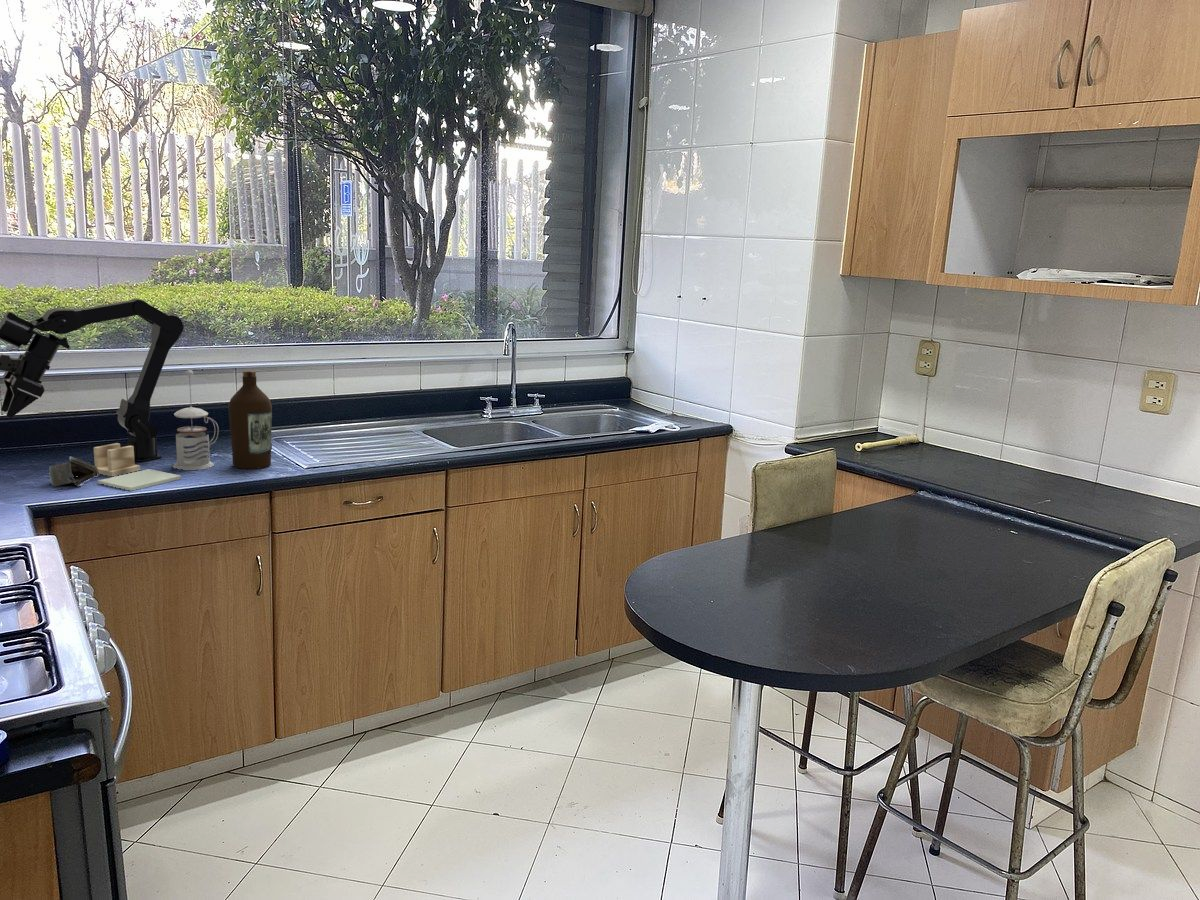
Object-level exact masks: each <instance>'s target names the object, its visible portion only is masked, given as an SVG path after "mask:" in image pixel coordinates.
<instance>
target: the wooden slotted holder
mask: <svg viewBox="0 0 1200 900" xmlns="http://www.w3.org/2000/svg"><path fill="white" fill-rule="evenodd" d="M93 457H94V459H93V460H94V465H95V466H96V467H97V469H98V472H99V475H100V474H103V475H102V476H105V475H108V476H107V477H110V476H114V477H116V476H117V475H119V476H120V474H123V475H125V473H128V474H129V473H130V472H132V473H134V471H137V472H138V470H141V465H139V464H135V461H136V460H134V446H127V445H126V446H121V443H119V442H115V443H114V442H113V443H111V444H110V443H109V444H104V445H99V446H94V447H93ZM141 471H142V470H141Z"/></svg>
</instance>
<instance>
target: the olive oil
mask: <svg viewBox="0 0 1200 900" xmlns="http://www.w3.org/2000/svg"><path fill="white" fill-rule="evenodd" d="M228 419H229V430H230V444H231V453H232V454H231V456H232V457H231V459H232V466H233V467H234V468H236V469H241V470H256V469H258V470H259V469H264V468H268V467H270V466H271V465H272V462H271V461H272V449H273V444H272V423H273V422H272V421H273V405H272V402H271V400H270V398H269V396H267V394H266V393H264V391H262V389H260V388H259V386H258V385H257V371H255V370H250V369H249V370H247V369H246V370H243V371H242V386H241V387H240V388H238V390H237V391H236V392H235V393H234V395H233V396H232V397H231V398H230V400H229V403H228Z"/></svg>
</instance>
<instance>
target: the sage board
mask: <svg viewBox="0 0 1200 900" xmlns="http://www.w3.org/2000/svg"><path fill="white" fill-rule="evenodd" d="M179 480H182V475H179V474H175V473H170V472H164V471H160V470H155V469H151V468H147V469H142V470H141V471H137V472H132V473H128V474H123V475H119V476H114V477H109V478H103V479H99V480H97V484H98V483H99V484H98V485H101V484H104V485H103V486H106V485H108V486H107V487H110V486H113V487H112V488H115V487H116V488H115V489H119V488H121V489H120V490H124V489H125V491H128V490H130V491H129V492H132V490H133V491H136V489H137V490H140V488H141V489H145V488H149V487H154V486H157V485H158V486H159V485H162V484H165V483H169V482H170V483H171V482H174V481H179Z"/></svg>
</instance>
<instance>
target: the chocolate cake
mask: <svg viewBox="0 0 1200 900" xmlns="http://www.w3.org/2000/svg"><path fill="white" fill-rule="evenodd" d="M68 458H69V460H68V462H63V463H62V462H61V463H59V464H54V465H51V466H49V467H48V468H49V469H48V470H49V473H48V476H49V481H50V483H51V486H52V487H60V486H64V485H68V484H74V485H75V486H76V487H79V486H78V485H80V484H81V483H83V482H84V481H86V480H88V479H90V478H92V477H94V476H99V477H100V474H99V472H98V469H97V467H96V466H95V464H90V463H89V462H85V461H84V460H82V459H80V458H75V457H73V456H71V455H70V456H68ZM73 476H78V477H74V478H73ZM94 478H95V477H94ZM90 480H91V479H90Z"/></svg>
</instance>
